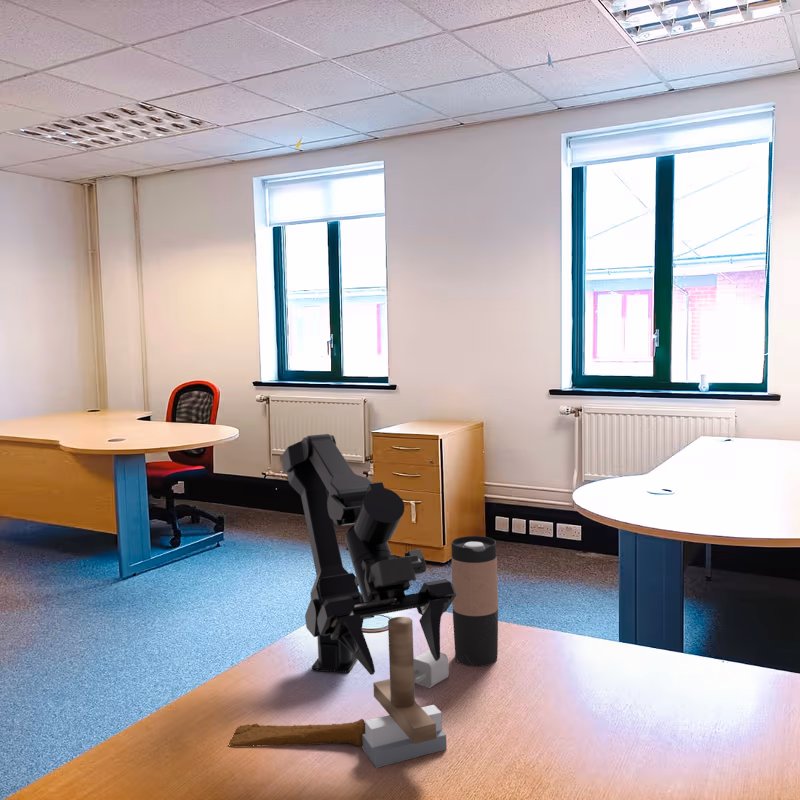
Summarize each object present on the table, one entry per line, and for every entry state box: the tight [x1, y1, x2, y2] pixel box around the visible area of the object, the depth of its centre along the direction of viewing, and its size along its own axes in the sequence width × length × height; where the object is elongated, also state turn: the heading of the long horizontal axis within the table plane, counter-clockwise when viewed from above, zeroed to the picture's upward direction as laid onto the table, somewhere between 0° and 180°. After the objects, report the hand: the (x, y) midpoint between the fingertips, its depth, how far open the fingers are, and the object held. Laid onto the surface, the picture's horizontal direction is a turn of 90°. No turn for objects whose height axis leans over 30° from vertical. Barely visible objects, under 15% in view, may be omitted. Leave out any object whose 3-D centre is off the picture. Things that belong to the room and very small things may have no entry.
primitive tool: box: [227, 718, 366, 748], centre depth 107 cm, size 19×6×4 cm, turn 85°
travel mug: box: [450, 535, 499, 667], centre depth 130 cm, size 8×8×20 cm
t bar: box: [372, 616, 436, 744], centre depth 102 cm, size 14×3×13 cm, turn 23°
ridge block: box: [362, 704, 448, 768], centre depth 103 cm, size 10×5×4 cm, turn 113°
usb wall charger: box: [414, 649, 449, 689], centre depth 122 cm, size 4×7×4 cm, turn 140°
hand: (406, 666), depth 101 cm, fingers open, 9 cm apart
